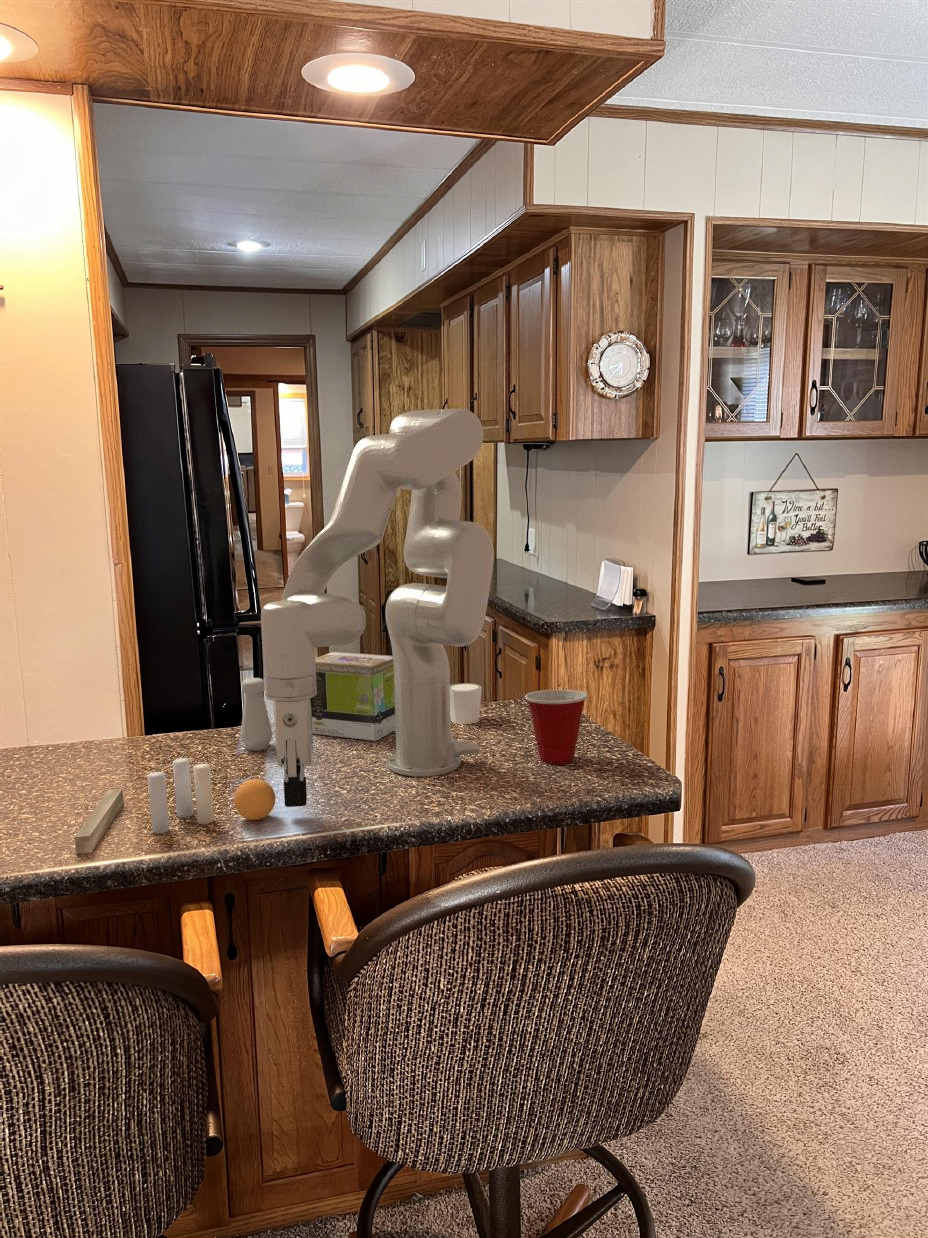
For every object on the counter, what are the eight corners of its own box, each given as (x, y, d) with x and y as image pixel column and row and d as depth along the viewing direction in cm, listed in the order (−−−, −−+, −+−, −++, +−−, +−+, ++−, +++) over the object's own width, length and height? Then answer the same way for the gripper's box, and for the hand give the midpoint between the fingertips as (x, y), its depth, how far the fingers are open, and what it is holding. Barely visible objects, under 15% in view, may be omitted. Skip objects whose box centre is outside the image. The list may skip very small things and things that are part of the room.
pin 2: (194, 811, 141) (190, 758, 140) (192, 817, 139) (187, 763, 137) (178, 812, 141) (174, 759, 139) (175, 818, 139) (171, 764, 137)
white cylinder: (447, 716, 188) (446, 683, 187) (480, 715, 189) (479, 682, 187) (449, 726, 181) (448, 692, 180) (484, 725, 182) (483, 690, 181)
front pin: (215, 817, 139) (211, 763, 137) (212, 823, 136) (208, 768, 135) (198, 818, 138) (194, 764, 137) (196, 824, 136) (191, 769, 134)
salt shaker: (265, 753, 168) (261, 683, 165) (236, 751, 169) (231, 682, 166) (278, 743, 173) (274, 676, 171) (249, 741, 174) (245, 675, 172)
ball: (246, 767, 139) (228, 801, 140) (244, 781, 133) (225, 816, 134) (282, 783, 141) (264, 816, 141) (282, 798, 135) (263, 833, 135)
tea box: (401, 728, 181) (398, 654, 178) (375, 743, 172) (372, 666, 169) (336, 720, 187) (332, 649, 185) (308, 734, 178) (304, 660, 176)
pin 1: (170, 826, 136) (166, 771, 134) (167, 833, 133) (162, 777, 132) (154, 827, 135) (149, 772, 134) (150, 834, 133) (145, 778, 131)
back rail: (123, 804, 145) (122, 789, 144) (91, 853, 127) (89, 836, 127) (110, 804, 144) (109, 789, 144) (76, 854, 127) (74, 837, 126)
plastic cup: (571, 746, 168) (571, 682, 166) (598, 765, 158) (598, 697, 155) (515, 753, 164) (515, 688, 162) (539, 773, 154) (539, 704, 152)
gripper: (315, 697, 128) (320, 822, 131) (317, 672, 143) (322, 786, 146) (260, 699, 127) (266, 825, 130) (268, 674, 142) (274, 788, 145)
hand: (295, 804), depth 138 cm, fingers closed
